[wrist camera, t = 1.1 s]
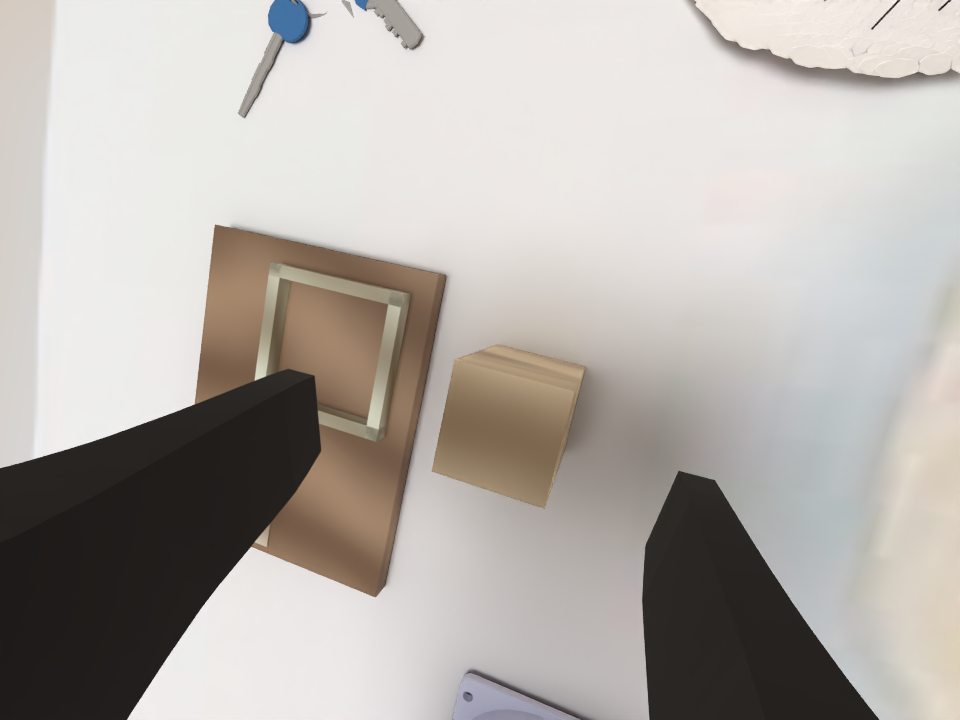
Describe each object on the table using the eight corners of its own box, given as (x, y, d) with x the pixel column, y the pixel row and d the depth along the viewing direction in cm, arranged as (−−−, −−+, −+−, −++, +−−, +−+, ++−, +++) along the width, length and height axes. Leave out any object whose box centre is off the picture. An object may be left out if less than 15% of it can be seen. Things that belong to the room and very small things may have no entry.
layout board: (384, 585, 24) (298, 692, 18) (197, 510, 27) (61, 577, 21) (446, 275, 22) (371, 263, 15) (230, 227, 25) (86, 199, 18)
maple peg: (563, 453, 21) (544, 508, 16) (478, 428, 22) (431, 471, 16) (585, 366, 21) (574, 391, 15) (497, 344, 22) (454, 359, 16)
